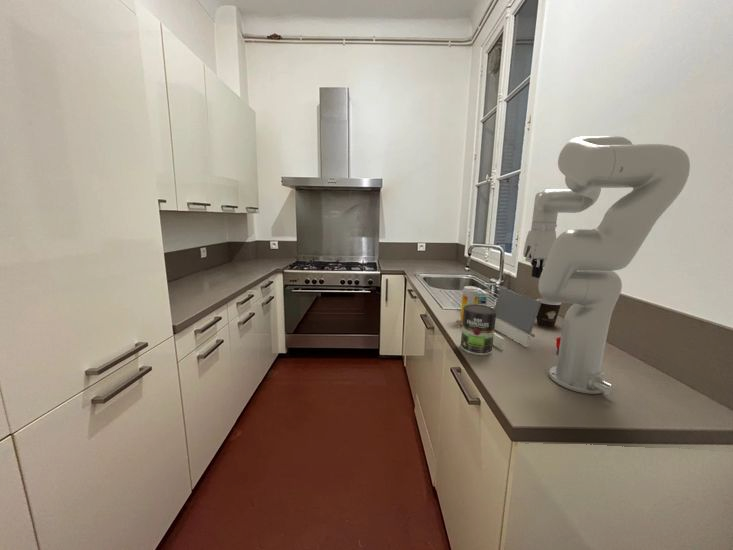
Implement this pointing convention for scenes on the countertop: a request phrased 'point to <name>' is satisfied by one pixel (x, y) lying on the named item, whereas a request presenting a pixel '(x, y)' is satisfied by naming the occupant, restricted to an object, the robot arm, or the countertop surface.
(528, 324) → the cover
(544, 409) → the countertop surface
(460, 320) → the coaster
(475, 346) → the coffee can
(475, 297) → the beer can
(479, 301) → the light bulb box
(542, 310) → the coffee mug
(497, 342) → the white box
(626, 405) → the countertop surface
